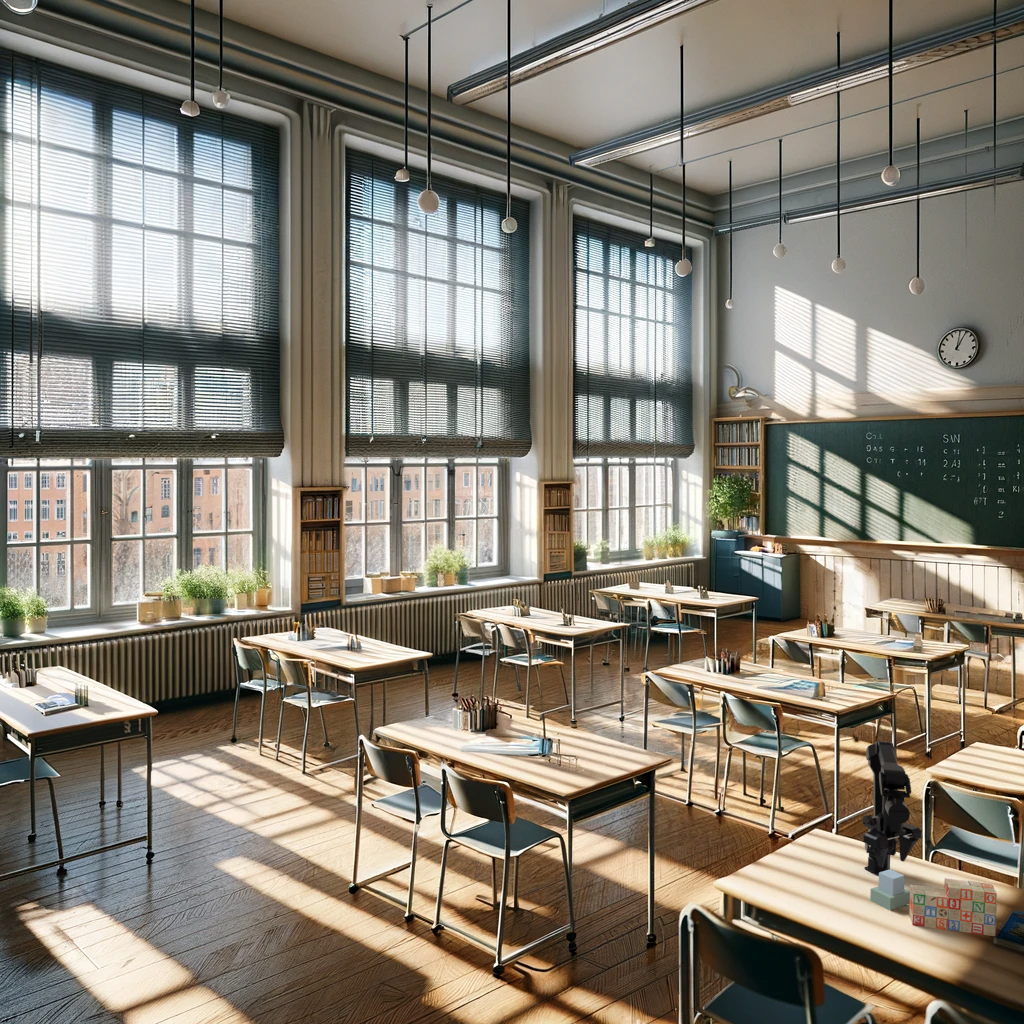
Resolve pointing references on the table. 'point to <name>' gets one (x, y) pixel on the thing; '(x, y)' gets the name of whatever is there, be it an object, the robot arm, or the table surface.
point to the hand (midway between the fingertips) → (891, 863)
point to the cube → (891, 882)
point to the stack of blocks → (955, 906)
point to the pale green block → (889, 898)
